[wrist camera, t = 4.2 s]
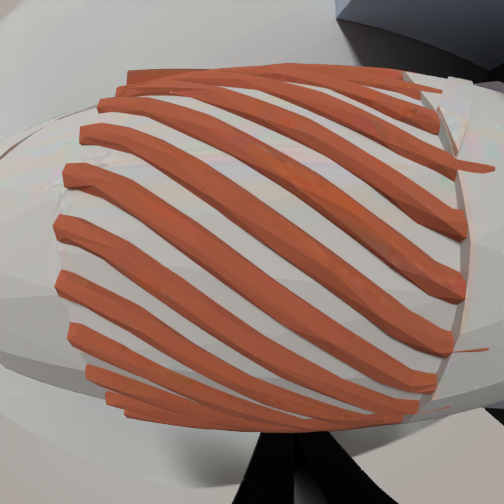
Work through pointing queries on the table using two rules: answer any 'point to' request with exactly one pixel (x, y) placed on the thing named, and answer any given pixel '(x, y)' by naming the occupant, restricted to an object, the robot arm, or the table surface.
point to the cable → (263, 248)
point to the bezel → (438, 24)
